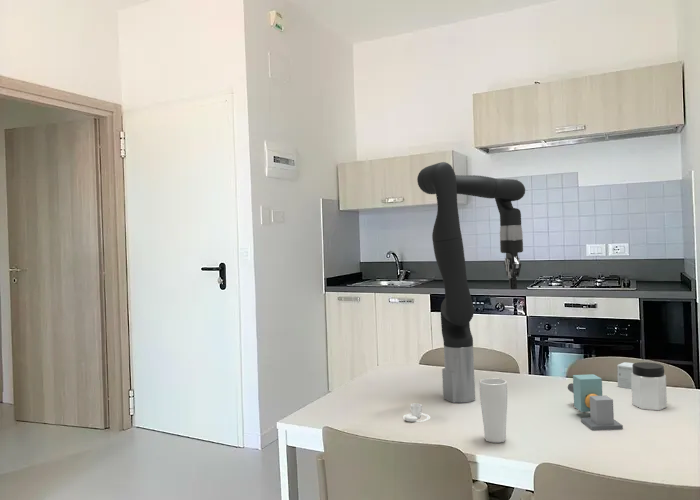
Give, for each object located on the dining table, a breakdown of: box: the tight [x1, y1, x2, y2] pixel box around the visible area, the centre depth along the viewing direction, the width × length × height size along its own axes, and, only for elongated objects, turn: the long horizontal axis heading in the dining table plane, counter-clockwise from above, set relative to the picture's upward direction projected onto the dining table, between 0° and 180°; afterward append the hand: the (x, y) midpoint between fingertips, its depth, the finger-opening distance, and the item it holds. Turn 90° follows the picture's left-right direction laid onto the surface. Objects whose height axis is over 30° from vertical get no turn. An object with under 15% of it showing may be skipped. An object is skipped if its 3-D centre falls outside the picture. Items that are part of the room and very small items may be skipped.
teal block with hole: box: [572, 373, 603, 413], centre depth 155 cm, size 5×6×9 cm
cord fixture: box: [567, 382, 624, 431], centre depth 155 cm, size 23×8×8 cm, turn 0°
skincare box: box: [616, 361, 635, 390], centre depth 183 cm, size 6×6×7 cm
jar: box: [631, 361, 668, 411], centre depth 162 cm, size 9×8×12 cm
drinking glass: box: [479, 377, 508, 444], centre depth 140 cm, size 7×7×15 cm
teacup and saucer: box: [402, 402, 431, 423], centre depth 160 cm, size 9×8×4 cm
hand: (513, 289), depth 191 cm, fingers closed
